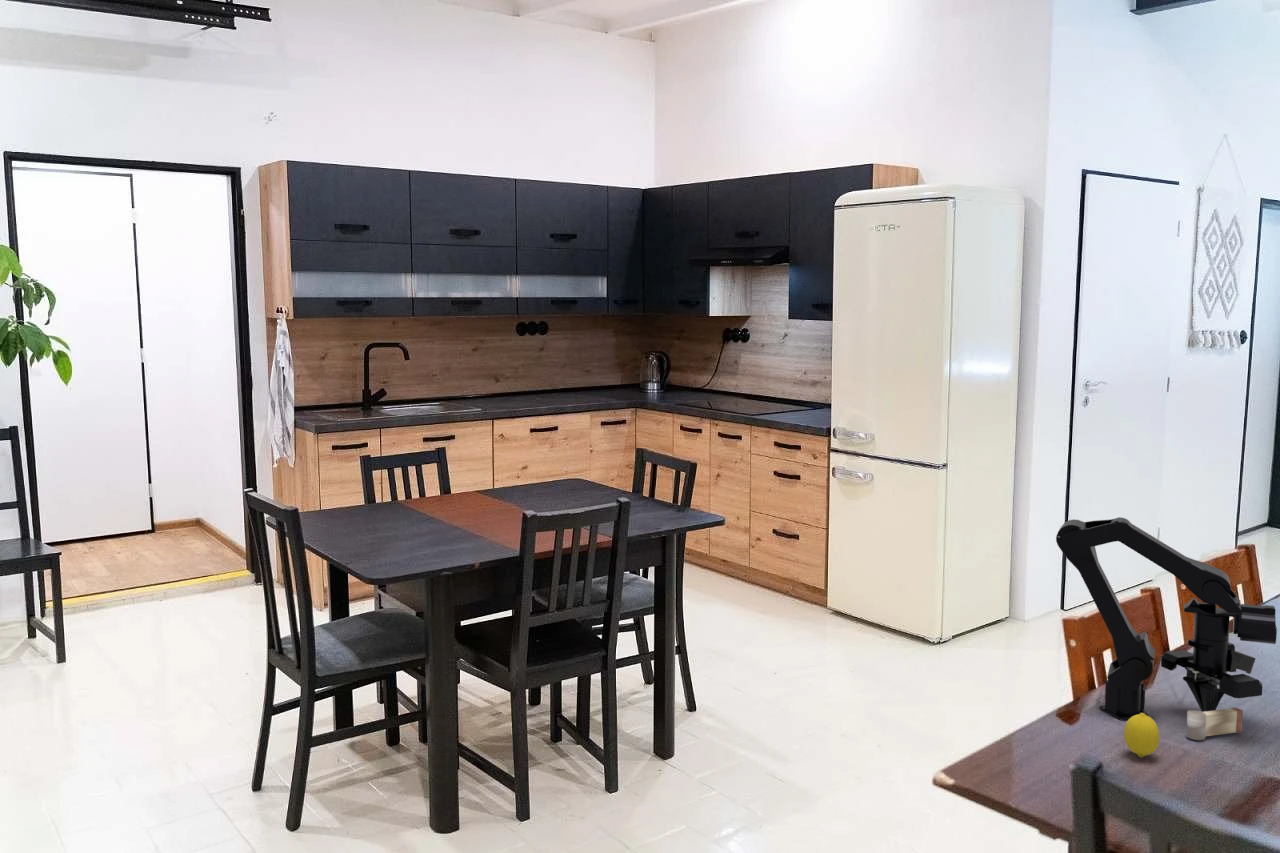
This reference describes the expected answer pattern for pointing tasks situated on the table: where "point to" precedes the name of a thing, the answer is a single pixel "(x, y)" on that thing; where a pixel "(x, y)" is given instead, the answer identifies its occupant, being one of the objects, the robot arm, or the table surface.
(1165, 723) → the table surface
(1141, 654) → the robot arm
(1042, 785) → the table surface
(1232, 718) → the cream brown-tipped bar
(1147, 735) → the lemon
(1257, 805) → the table surface
